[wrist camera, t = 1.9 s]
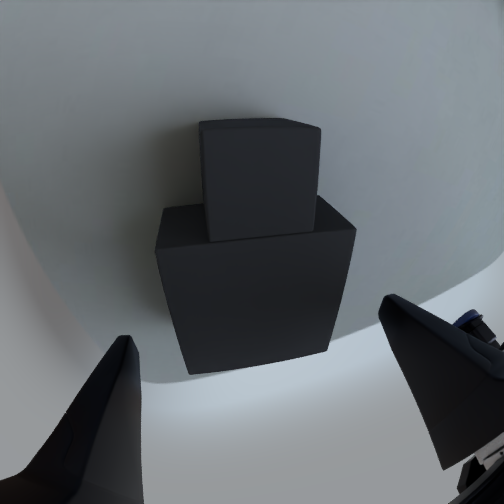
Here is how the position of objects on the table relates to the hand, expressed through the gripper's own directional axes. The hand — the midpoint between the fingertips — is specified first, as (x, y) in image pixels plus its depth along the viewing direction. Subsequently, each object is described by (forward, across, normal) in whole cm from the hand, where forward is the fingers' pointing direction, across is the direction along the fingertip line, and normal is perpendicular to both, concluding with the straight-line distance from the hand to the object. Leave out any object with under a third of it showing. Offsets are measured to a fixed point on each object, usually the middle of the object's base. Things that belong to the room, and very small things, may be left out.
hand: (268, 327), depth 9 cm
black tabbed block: (+4, 0, -1) cm, 4 cm away
